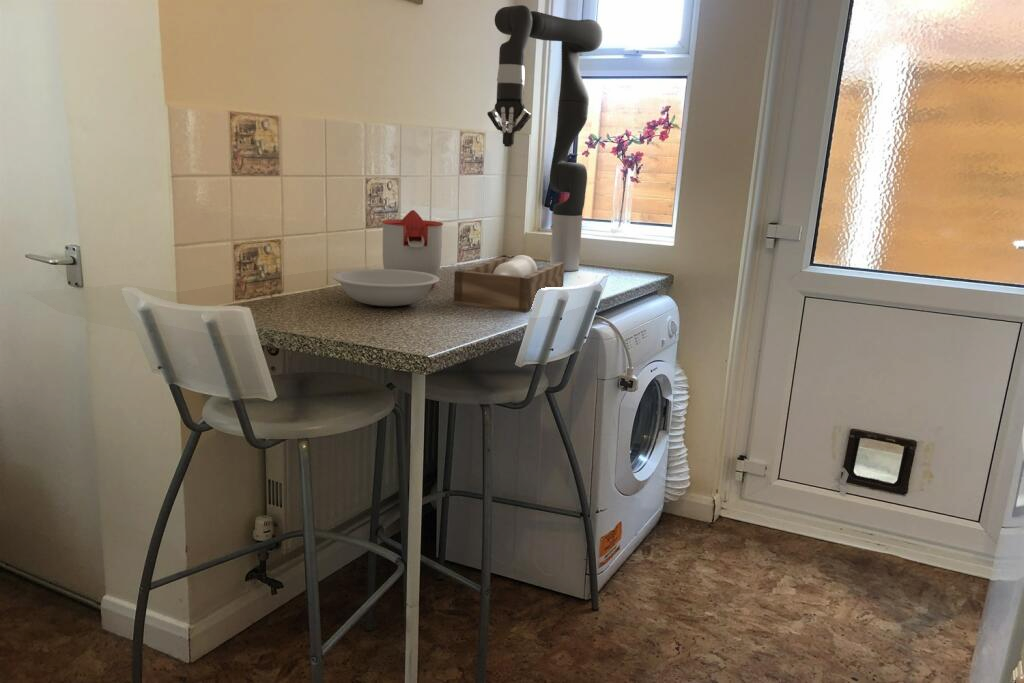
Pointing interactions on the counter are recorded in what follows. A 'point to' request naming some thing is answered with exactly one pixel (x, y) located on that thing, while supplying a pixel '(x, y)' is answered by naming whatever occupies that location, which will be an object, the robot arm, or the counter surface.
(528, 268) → the bottle
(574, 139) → the robot arm
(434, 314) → the counter surface
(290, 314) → the counter surface
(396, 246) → the citrus juicer
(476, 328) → the counter surface
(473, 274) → the brown wooden open box
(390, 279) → the soup bowl
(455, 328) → the counter surface
